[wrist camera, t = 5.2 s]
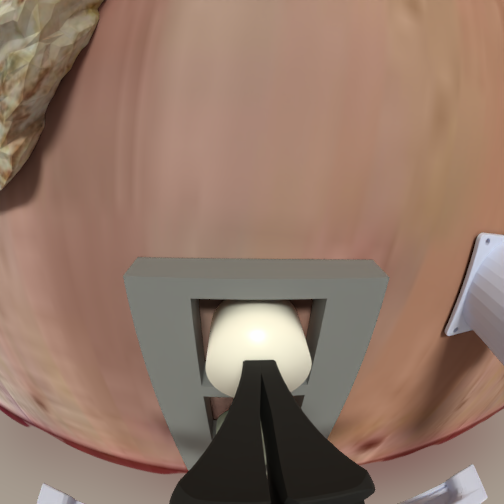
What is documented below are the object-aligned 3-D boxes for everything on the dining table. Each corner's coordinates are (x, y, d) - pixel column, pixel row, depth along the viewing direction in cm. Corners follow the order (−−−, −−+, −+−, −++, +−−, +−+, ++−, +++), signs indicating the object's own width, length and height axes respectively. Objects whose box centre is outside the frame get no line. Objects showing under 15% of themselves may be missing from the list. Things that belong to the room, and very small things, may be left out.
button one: (304, 289, 14) (321, 334, 10) (293, 356, 16) (303, 402, 12) (209, 288, 14) (200, 335, 10) (213, 357, 15) (209, 404, 12)
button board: (372, 259, 13) (389, 277, 12) (307, 452, 22) (310, 468, 20) (137, 257, 13) (123, 276, 11) (189, 454, 21) (188, 470, 20)
